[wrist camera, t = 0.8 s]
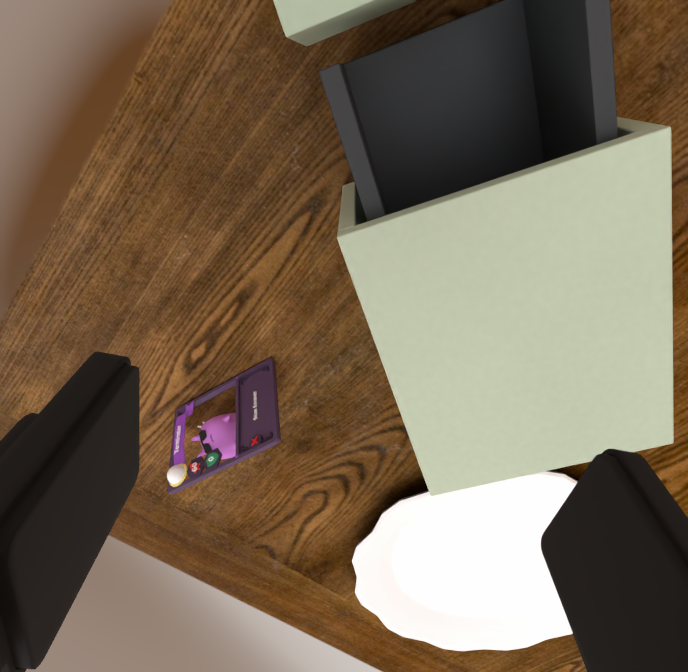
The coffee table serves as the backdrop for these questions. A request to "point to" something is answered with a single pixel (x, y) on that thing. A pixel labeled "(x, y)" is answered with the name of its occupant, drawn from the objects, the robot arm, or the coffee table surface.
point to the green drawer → (464, 93)
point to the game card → (229, 427)
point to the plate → (467, 565)
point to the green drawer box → (527, 311)
